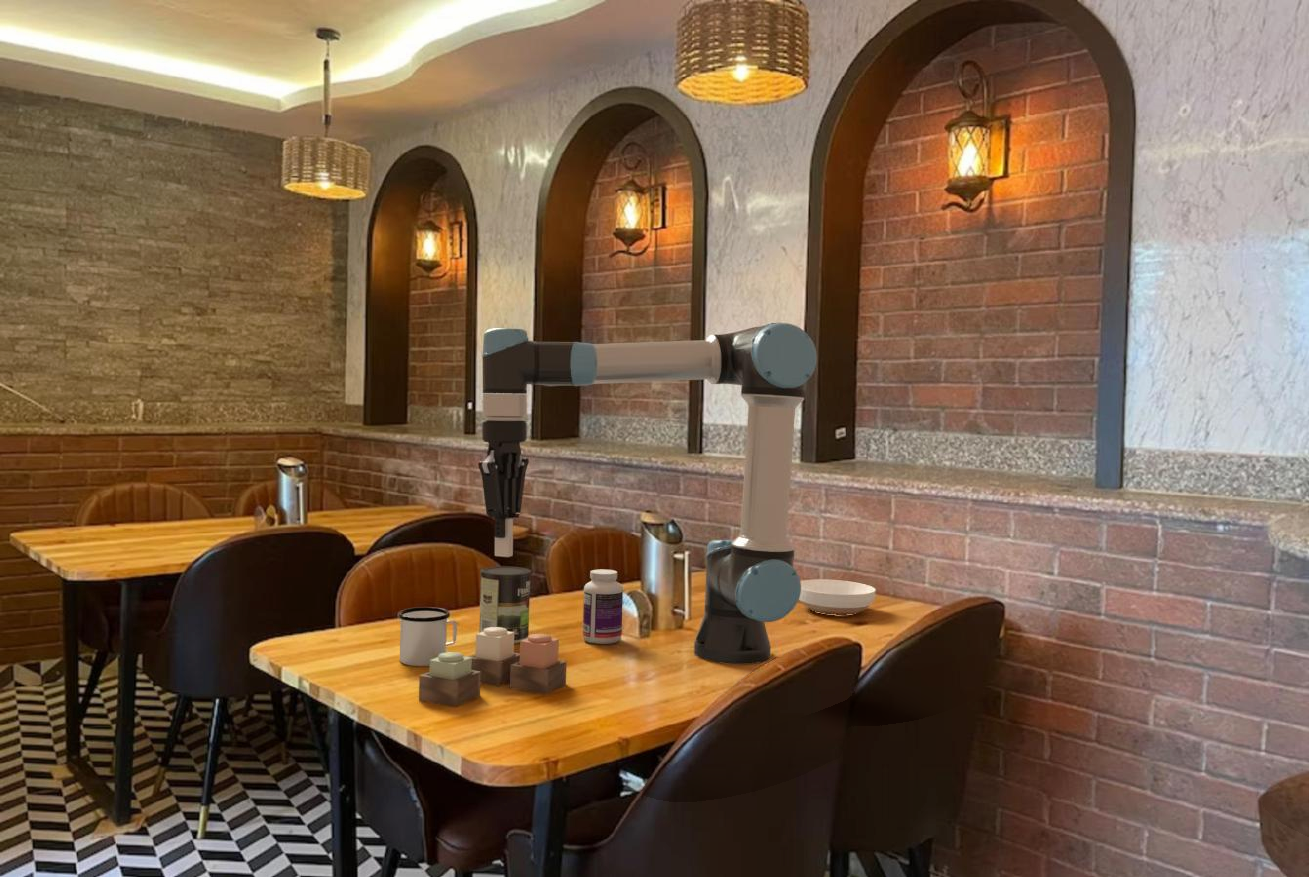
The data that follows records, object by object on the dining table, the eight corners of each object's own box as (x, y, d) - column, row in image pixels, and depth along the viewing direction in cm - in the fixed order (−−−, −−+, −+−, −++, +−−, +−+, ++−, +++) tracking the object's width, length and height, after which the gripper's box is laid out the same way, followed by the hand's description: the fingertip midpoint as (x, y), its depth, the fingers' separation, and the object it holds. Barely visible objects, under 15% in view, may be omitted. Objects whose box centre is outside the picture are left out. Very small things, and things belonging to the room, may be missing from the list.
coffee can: (535, 634, 203) (537, 567, 202) (519, 646, 193) (521, 576, 192) (489, 630, 205) (491, 564, 204) (470, 642, 195) (472, 572, 194)
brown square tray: (479, 695, 160) (480, 671, 160) (454, 706, 154) (455, 682, 154) (444, 688, 163) (445, 665, 163) (418, 699, 157) (419, 675, 156)
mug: (415, 670, 173) (416, 620, 173) (386, 659, 180) (387, 611, 179) (470, 659, 182) (471, 611, 182) (440, 649, 188) (442, 603, 188)
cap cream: (513, 665, 171) (514, 628, 171) (498, 672, 167) (499, 634, 167) (490, 661, 173) (491, 625, 173) (474, 668, 169) (476, 630, 169)
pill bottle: (628, 639, 202) (630, 570, 201) (610, 647, 194) (612, 576, 194) (593, 634, 205) (596, 566, 205) (575, 642, 198) (577, 572, 197)
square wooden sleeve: (521, 676, 172) (522, 654, 172) (499, 686, 166) (500, 663, 166) (488, 670, 175) (488, 648, 175) (465, 680, 169) (466, 657, 168)
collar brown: (565, 683, 169) (566, 661, 168) (545, 694, 162) (546, 670, 162) (531, 677, 171) (531, 655, 171) (509, 688, 165) (510, 664, 165)
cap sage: (470, 693, 160) (471, 654, 159) (453, 701, 155) (454, 660, 155) (446, 689, 162) (447, 650, 161) (428, 696, 157) (429, 656, 157)
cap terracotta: (557, 673, 168) (558, 635, 168) (543, 680, 163) (544, 641, 163) (533, 669, 170) (534, 631, 170) (519, 675, 165) (520, 637, 165)
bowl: (885, 610, 241) (887, 586, 241) (857, 624, 224) (859, 598, 224) (812, 599, 251) (813, 576, 251) (780, 612, 235) (782, 586, 235)
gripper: (505, 418, 173) (504, 548, 175) (464, 419, 161) (463, 559, 162) (542, 418, 171) (541, 552, 172) (503, 420, 159) (502, 563, 160)
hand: (503, 555), depth 167 cm, fingers closed
